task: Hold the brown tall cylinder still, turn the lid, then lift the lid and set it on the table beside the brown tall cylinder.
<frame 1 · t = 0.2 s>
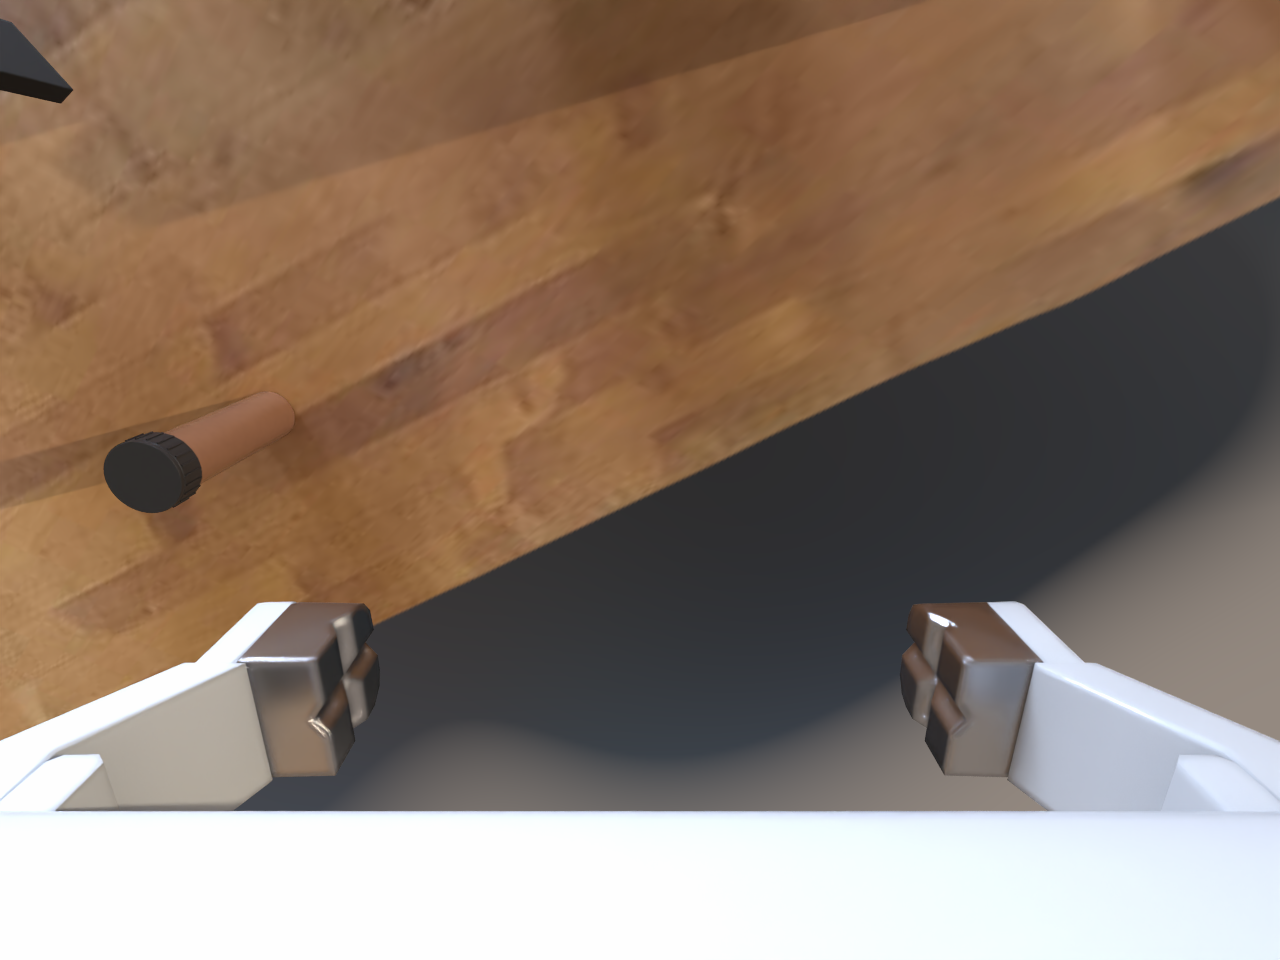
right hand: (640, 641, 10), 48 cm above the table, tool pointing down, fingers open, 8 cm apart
lid: (146, 476, 44), point 16 cm above the table, screwed on, not yet turned
brown tall cylinder: (270, 414, 58), on the table
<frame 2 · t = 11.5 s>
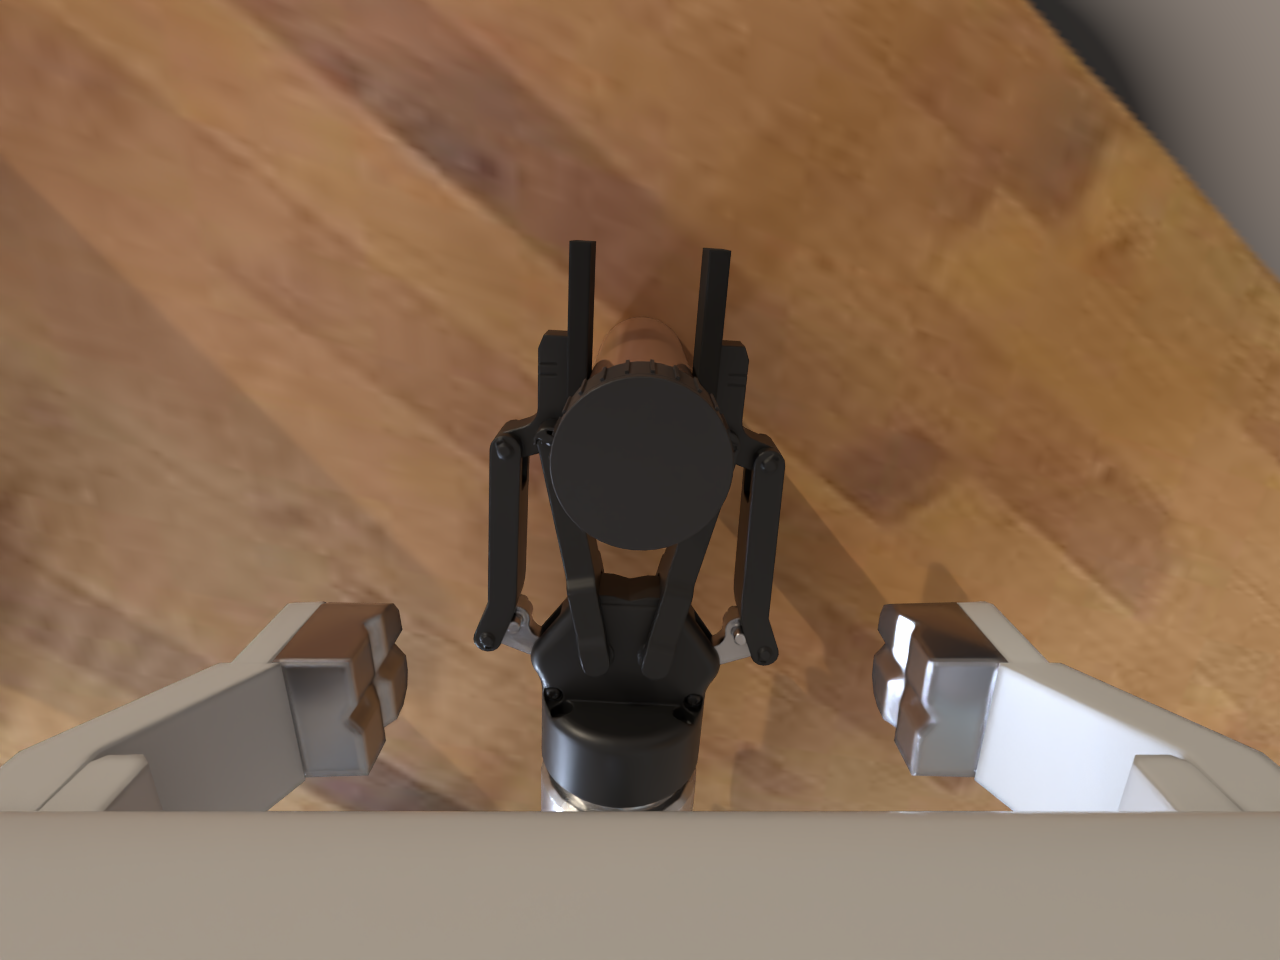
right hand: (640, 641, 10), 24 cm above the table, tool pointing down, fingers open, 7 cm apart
left hand: (649, 246, 25), fingers closed on brown tall cylinder, 4 cm apart
lid: (641, 463, 18), point 16 cm above the table, screwed on, not yet turned
brown tall cylinder: (641, 360, 33), on the table, touching left hand
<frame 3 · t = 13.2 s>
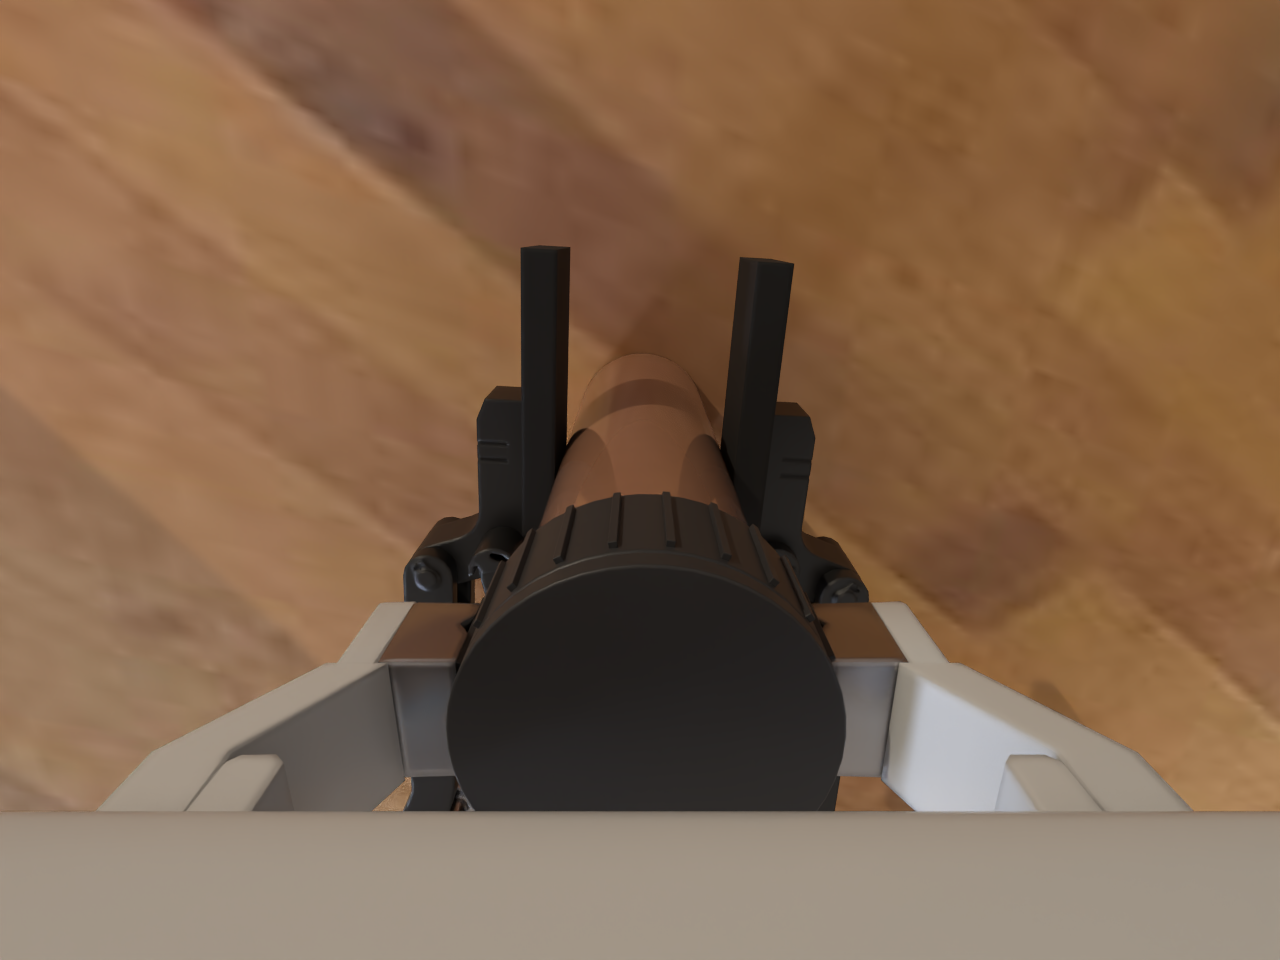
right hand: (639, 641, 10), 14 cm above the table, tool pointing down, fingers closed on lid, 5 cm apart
lid: (645, 725, 9), point 16 cm above the table, screwed on, not yet turned, touching right hand
brown tall cylinder: (641, 413, 23), on the table, touching left hand
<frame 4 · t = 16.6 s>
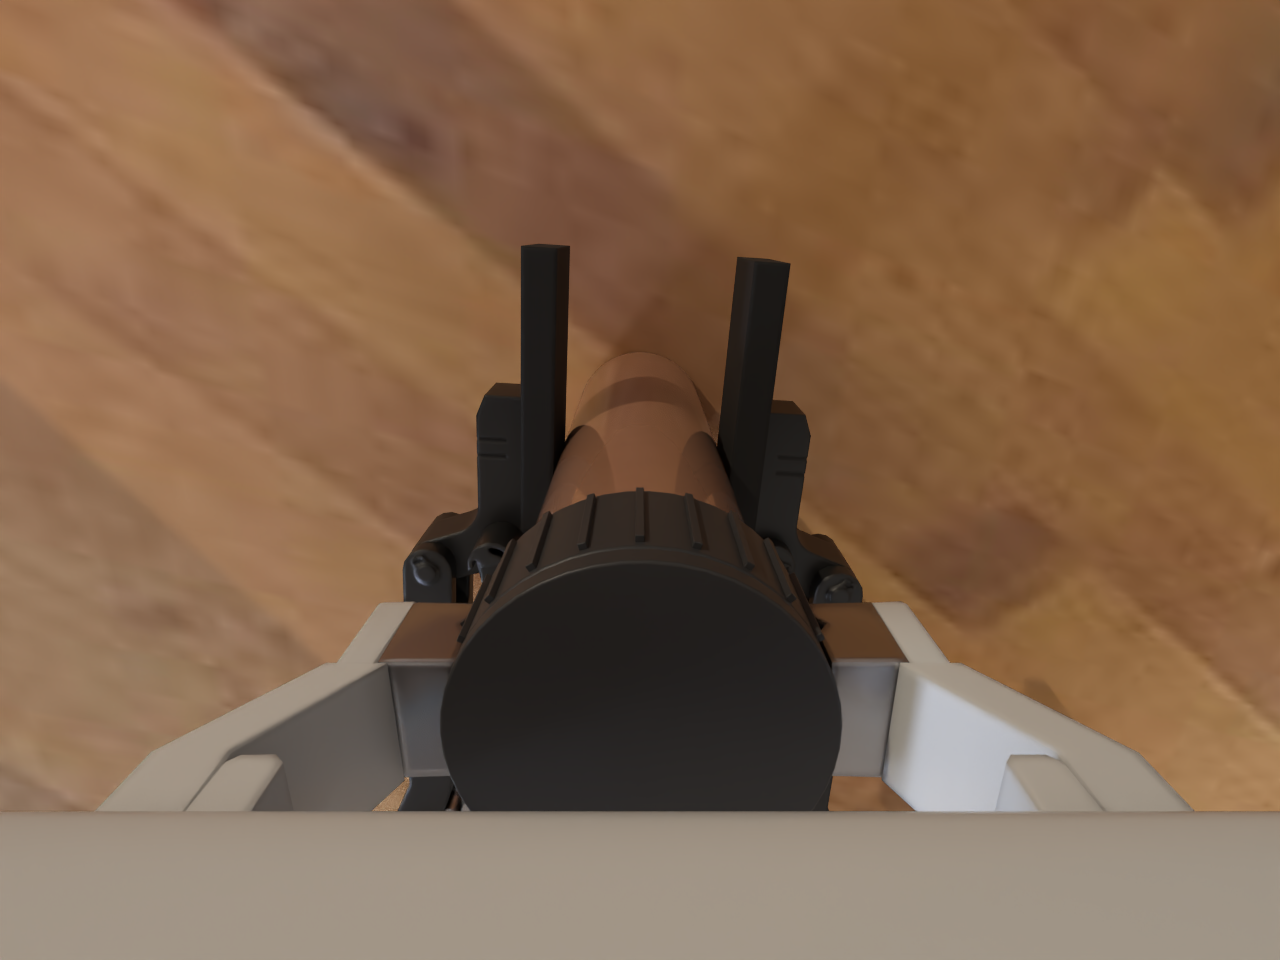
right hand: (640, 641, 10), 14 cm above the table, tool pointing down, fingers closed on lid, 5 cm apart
lid: (640, 722, 9), point 16 cm above the table, turned 86° so far, risen 0.2 cm, still on its thread, touching right hand
brown tall cylinder: (639, 411, 23), on the table, touching left hand
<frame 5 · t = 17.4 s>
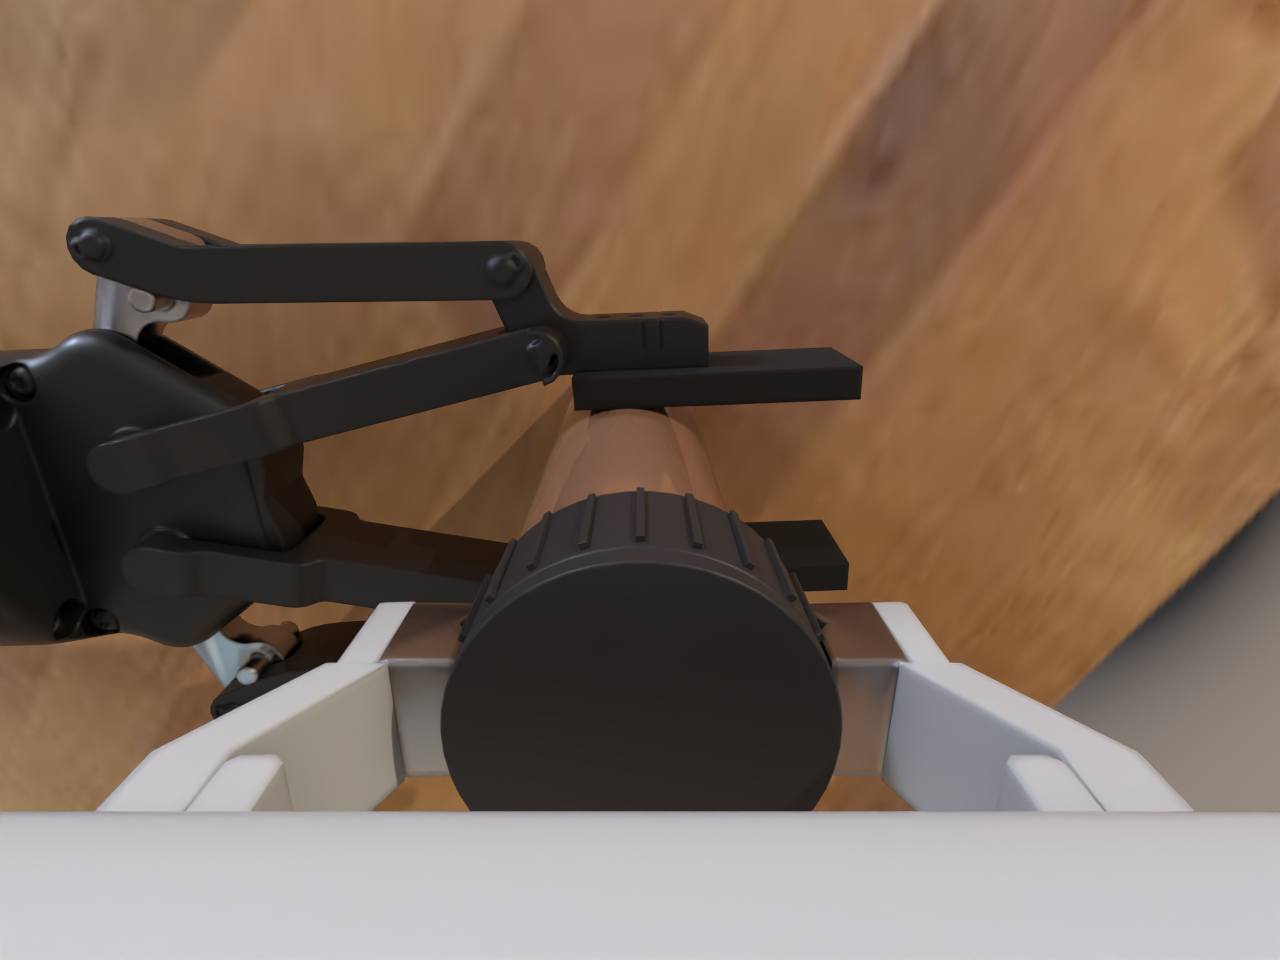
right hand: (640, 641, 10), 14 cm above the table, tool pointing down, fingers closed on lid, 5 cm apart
left hand: (836, 466, 17), fingers closed on brown tall cylinder, 4 cm apart
lid: (641, 722, 9), point 16 cm above the table, off its thread, touching right hand
brown tall cylinder: (630, 410, 24), on the table, touching left hand
when the right hand's fingers open (2 cm above the table, at t = 22.2 s): lid drops 2 cm, point 2 cm above the table.
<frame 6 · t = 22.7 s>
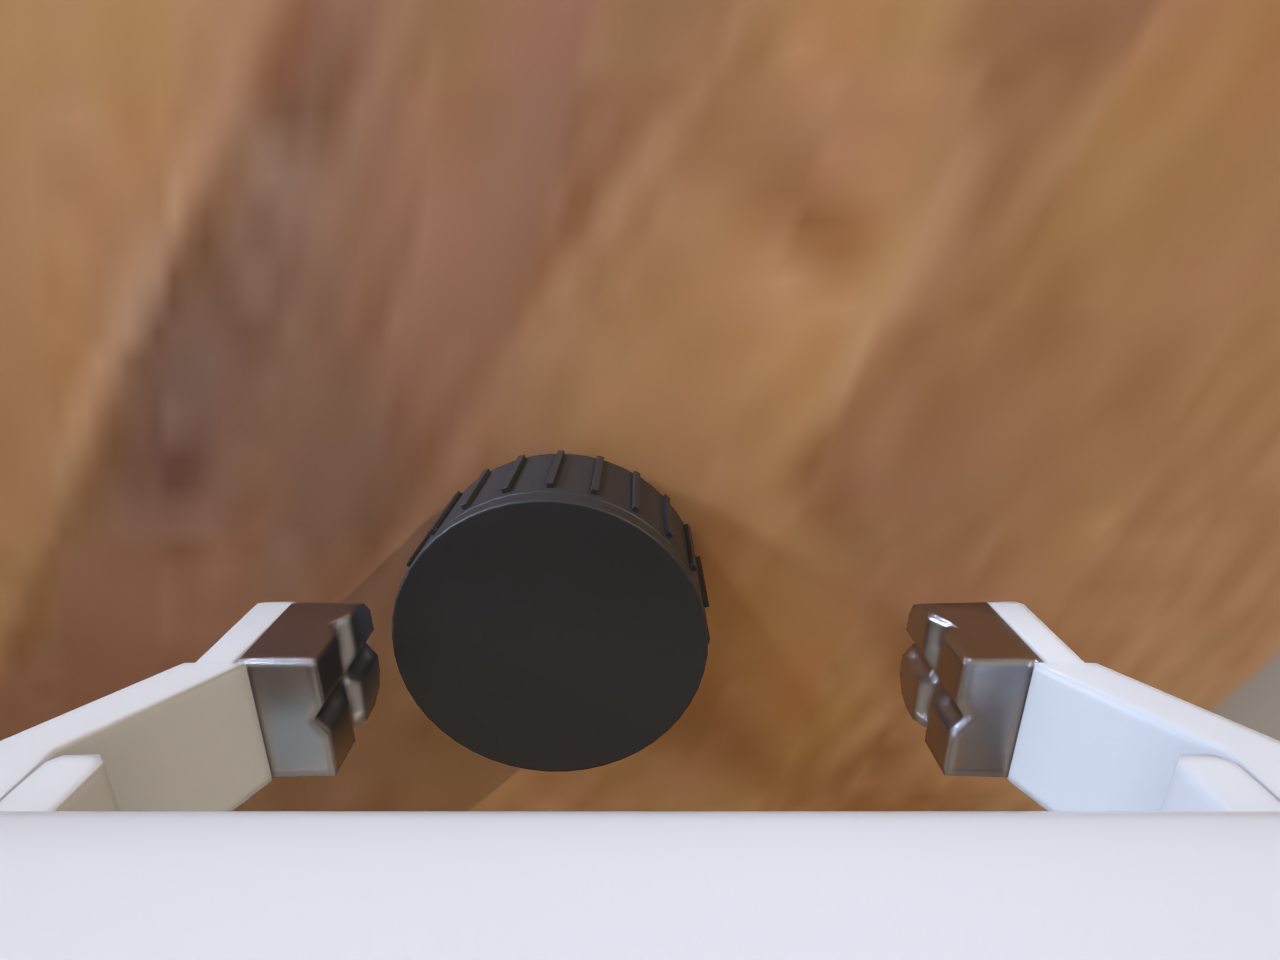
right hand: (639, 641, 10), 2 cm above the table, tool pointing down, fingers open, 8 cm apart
lid: (552, 634, 11), point 2 cm above the table, off its thread
when the left hand's fingers open (7 cm above the table, at t = 23.1 s): brown tall cylinder stays where it is, on the table.
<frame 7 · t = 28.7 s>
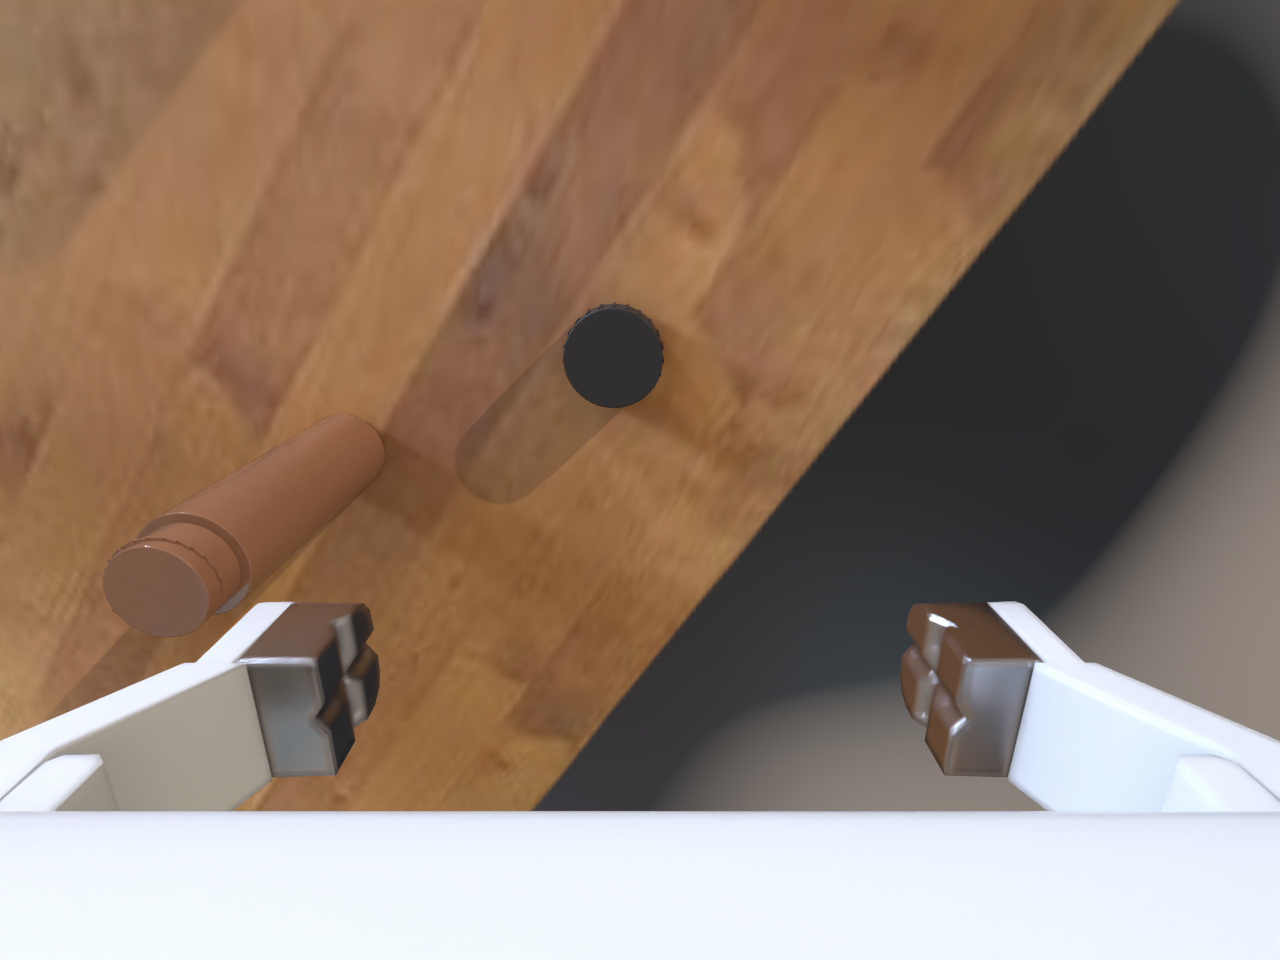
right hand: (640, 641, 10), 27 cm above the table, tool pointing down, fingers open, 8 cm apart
lid: (613, 358, 33), point 2 cm above the table, off its thread
brown tall cylinder: (347, 450, 37), on the table
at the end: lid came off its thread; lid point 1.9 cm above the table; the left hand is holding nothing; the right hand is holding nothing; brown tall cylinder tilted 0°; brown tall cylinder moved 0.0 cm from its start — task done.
